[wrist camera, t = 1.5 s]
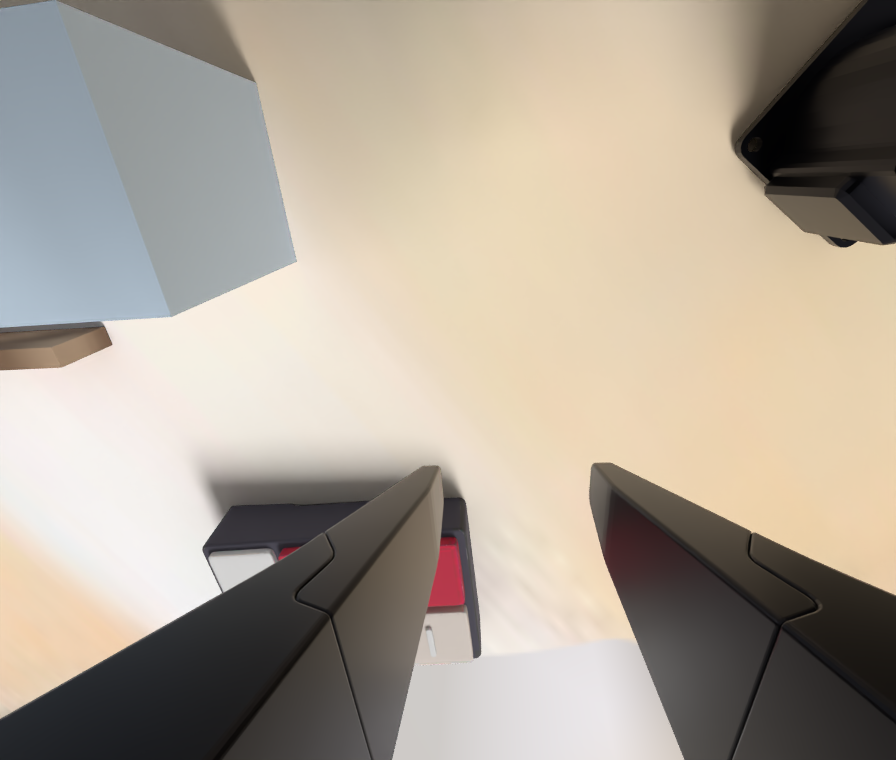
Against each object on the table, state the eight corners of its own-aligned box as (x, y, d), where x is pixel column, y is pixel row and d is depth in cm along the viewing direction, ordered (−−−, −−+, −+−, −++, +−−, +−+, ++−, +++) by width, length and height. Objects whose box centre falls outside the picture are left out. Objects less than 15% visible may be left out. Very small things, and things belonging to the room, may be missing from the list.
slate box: (257, 83, 17) (55, 0, 9) (298, 260, 20) (171, 316, 12) (-84, 126, 19) (-509, 87, 11) (-2, 283, 22) (-288, 346, 14)
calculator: (482, 671, 27) (251, 681, 28) (480, 609, 31) (277, 619, 32) (465, 539, 22) (190, 557, 23) (465, 486, 26) (229, 503, 27)
